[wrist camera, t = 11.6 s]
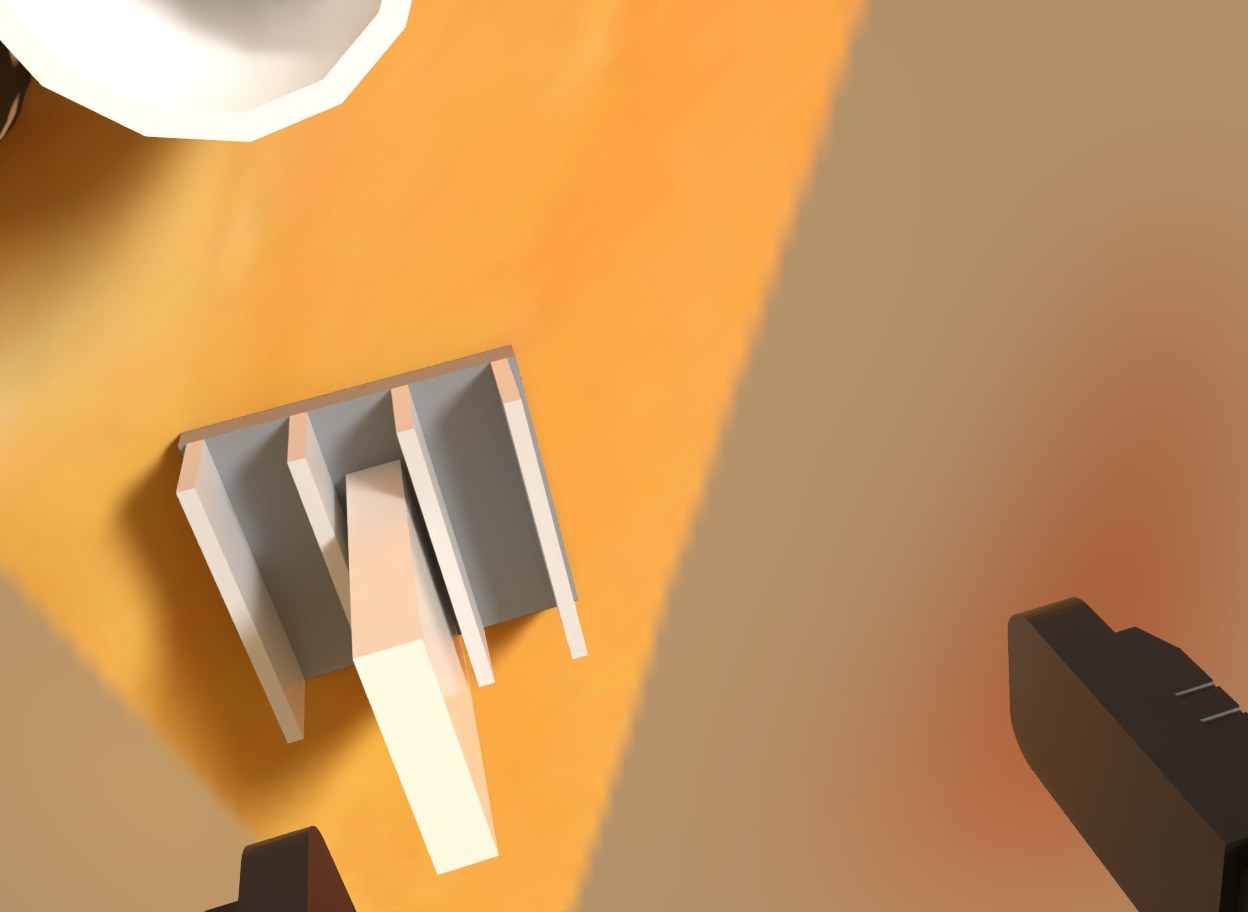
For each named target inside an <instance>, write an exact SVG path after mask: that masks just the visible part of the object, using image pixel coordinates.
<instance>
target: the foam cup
mask: <svg viewBox="0 0 1248 912" xmlns="http://www.w3.org/2000/svg"><path fill="white" fill-rule="evenodd" d="M411 2H412V0H0V40H1V41H2V43H3V44H4V45H5V46H6V47H7V48H8V49H9V50H10V51H11V52H12V53H13V55H14V56H15V57H16V58H17V59H18V60H19V61H20V62H21V63H22V64H23V66H24V67H25V68H26V69H27V70H28V71H29V72H30V73H31V74H32V75H33V76H34V78H35V79H36V80H37V81H38V82H39V83H40V84H41V85H42V86H43V87H45V88H48V89H50V90H52V91H54V92H56V93H58V94H60V95H62V96H64V97H66V98H68V99H70V100H72V101H74V102H76V103H78V104H80V105H82V106H84V107H86V108H89V109H91V110H93V111H95V112H97V113H99V114H101V115H103V116H105V117H107V118H109V119H111V120H113V121H115V122H117V123H119V124H121V125H123V126H125V127H127V128H130V129H132V130H134V131H136V132H138V133H140V134H142V135H144V136H148V137H168V138H188V139H208V140H228V141H248V142H251V141H253V140H256V139H258V138H261V137H263V136H265V135H268V134H270V133H272V132H275V131H277V130H280V129H282V128H284V127H287V126H289V125H292V124H294V123H296V122H299V121H301V120H303V119H306V118H308V117H311V116H313V115H315V114H318V113H320V112H322V111H325V110H327V109H330V108H332V107H334V106H337V105H339V104H341V103H342V102H343V101H344V100H345V99H346V98H347V96H348V95H349V94H350V93H351V92H352V90H353V89H354V88H355V87H356V86H357V84H358V83H359V82H360V81H361V80H362V79H363V77H364V76H365V75H366V74H367V73H368V71H369V70H370V69H371V68H372V67H373V65H374V64H375V63H376V62H377V61H378V59H379V58H380V57H381V56H382V55H383V53H384V52H385V51H386V50H387V49H388V47H389V46H390V45H391V44H392V43H393V41H394V40H395V39H396V38H397V37H398V35H399V34H400V33H401V32H402V31H403V30H404V28H405V26H406V22H407V18H408V14H409V10H410V6H411Z"/></svg>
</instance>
